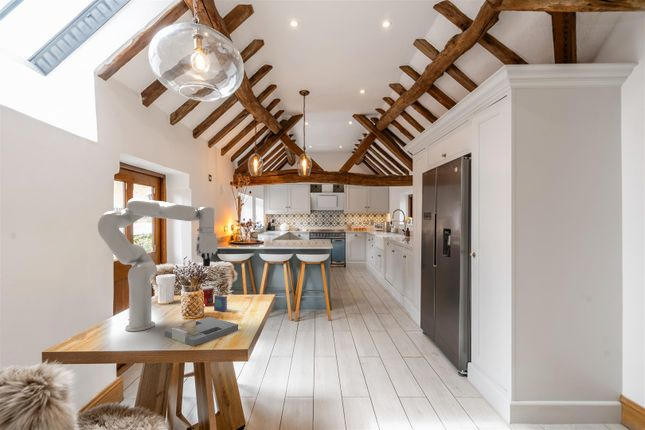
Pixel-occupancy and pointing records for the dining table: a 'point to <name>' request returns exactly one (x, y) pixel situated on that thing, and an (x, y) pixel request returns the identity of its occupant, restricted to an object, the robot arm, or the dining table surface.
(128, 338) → the dining table surface
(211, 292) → the canned food
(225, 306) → the blue box
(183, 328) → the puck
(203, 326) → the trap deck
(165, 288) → the cup
